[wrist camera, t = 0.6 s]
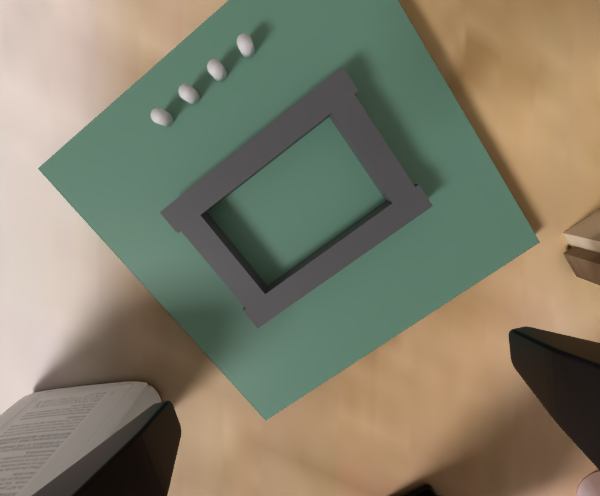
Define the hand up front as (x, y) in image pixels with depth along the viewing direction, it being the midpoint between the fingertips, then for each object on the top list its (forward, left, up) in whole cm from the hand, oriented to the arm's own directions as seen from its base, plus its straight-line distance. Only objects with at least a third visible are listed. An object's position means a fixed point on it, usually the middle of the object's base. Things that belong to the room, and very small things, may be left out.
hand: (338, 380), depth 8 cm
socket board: (+3, -1, -14) cm, 14 cm away
